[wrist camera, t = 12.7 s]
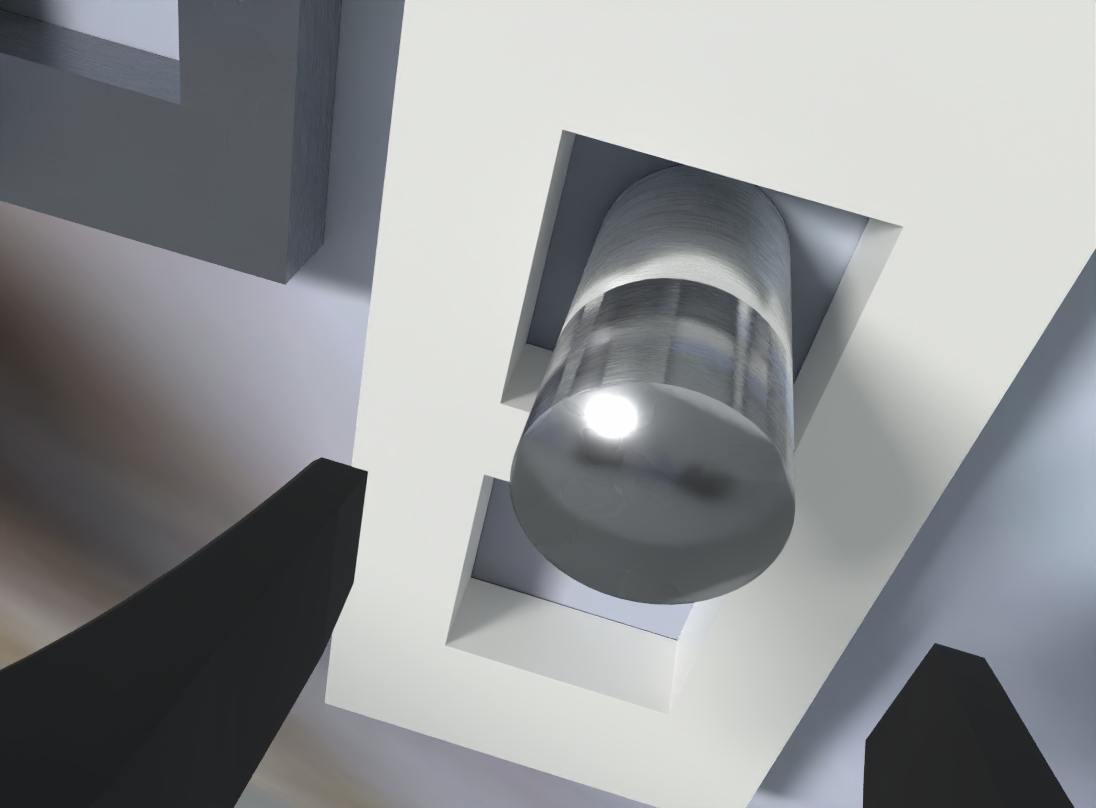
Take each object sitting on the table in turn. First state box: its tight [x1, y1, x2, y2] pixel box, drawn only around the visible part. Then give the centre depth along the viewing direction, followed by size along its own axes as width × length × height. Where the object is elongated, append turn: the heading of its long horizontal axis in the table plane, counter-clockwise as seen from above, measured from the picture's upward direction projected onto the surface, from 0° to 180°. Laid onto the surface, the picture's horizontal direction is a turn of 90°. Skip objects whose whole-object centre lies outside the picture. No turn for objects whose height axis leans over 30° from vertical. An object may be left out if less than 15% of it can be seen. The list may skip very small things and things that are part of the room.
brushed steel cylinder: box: [510, 165, 795, 605], centre depth 16 cm, size 4×4×8 cm
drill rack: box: [325, 0, 1096, 808], centre depth 21 cm, size 22×12×2 cm, turn 168°
